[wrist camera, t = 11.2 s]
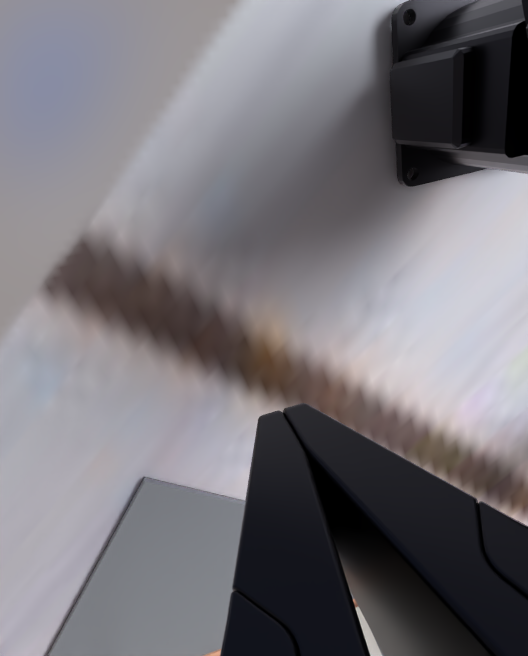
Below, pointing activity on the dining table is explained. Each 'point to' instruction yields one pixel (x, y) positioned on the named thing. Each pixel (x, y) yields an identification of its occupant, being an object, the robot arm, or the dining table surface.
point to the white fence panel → (368, 635)
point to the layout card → (160, 578)
